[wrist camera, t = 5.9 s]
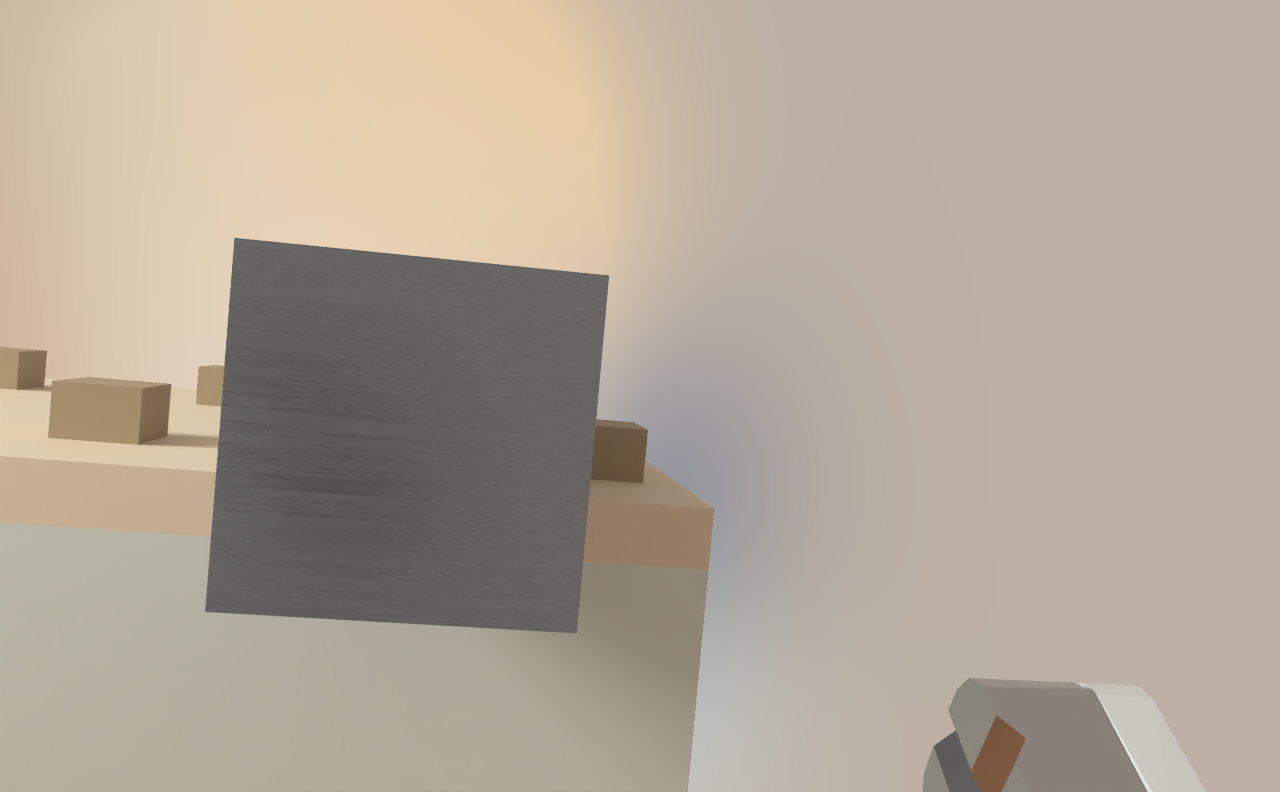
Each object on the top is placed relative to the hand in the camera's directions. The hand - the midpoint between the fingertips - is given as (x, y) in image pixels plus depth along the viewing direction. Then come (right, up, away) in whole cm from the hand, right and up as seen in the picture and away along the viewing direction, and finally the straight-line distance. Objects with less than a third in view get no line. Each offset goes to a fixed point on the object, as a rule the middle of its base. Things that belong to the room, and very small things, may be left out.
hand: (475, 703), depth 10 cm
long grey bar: (-3, +1, +14) cm, 14 cm away
